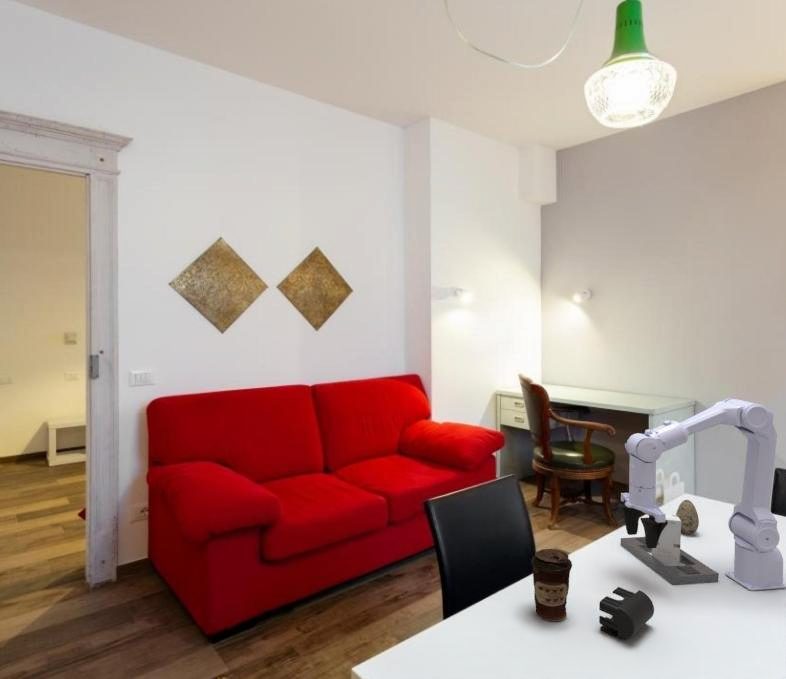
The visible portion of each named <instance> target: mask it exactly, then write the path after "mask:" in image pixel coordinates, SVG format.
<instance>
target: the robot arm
mask: <svg viewBox="0 0 786 679" xmlns="http://www.w3.org/2000/svg"><path fill="white" fill-rule="evenodd" d="M773 420H774V413H773V412H772V411H771V410H769V408H767V407H766V406H765V404H764V405H763V404H761V403H756V402H755V403H754V402H752V401H751V402H750V401H746V400H741V399H738V398H736V397H727V398H726V399H723V400H721V401H717V402H715V404H714V405H713V406H711V407H709V408H707V409H705V410H702V411H701V412H698V413H697V414H694V415H692V416H691V417H688V418H687V419H685V420H683V421H681V422H679V421H676V420H668V419H667V420H664V421H663V422H662V424H661V425H659V426H657V427H654V428H651V429H650V428H649V429H645V430H644V433H638V432H637V433H634V434H632V435H630V436H629V438H628V439H627V441H626V443H624V448H625V450H626V452H627V453H628V456H629V464H628V465H629V467H628V468H629V473H628V474H629V475H628V476H629V478H628V479H629V480H628V483H629V484H628V492H621V493H620V501H621V502H622V503H619V504H618V506H617V507H618V508H619V509H618V510H619V511H620V513H621V515H622V517H623V518H622V519H623V521H624V525H625V529H626V533H627V534H628V535H629V536H630V535H631V536H632V535H633V536H634V535H637V534H638V531H639V530H638V529H639V520H640V521H641V524H642V526H643V530H644V537H645V541H646V546H647V548H656V547H657V544H658V541H659V538H660V535H661V533H662V531H663V529H664V528H665V527H666V525H667V524H668V521H667V520H666V514H667V513H665V512H663V511H662V509H661V508H660V507H659V505H657V503H656V499H657V498H656V496H657V495H656V492H657V490H656V487H657V486H656V485H657V484H656V481H657V479H656V478H657V461H658V460H659V459H660V458H661V455H662V454H663V453H665V452H667V451H670V450H672V449H674V448H677V447H679V446H682V445H683V444H686V443H687V442H688V439H689V436H691V435H694V434H697V433H700V432H702V431H705V430H708V429H710V428H713V427H716V426H719V425H727V426H732V427H734V428H736V429H738V431H740V433H742V435H743V436H745V437H746V438H747V444H746V446H747V447H746V456H745V466H744V472H743V473H744V474H743V483H742V493H741V502H739V503H737V504H735V505H734V506H733V509H732V510H733V512H732V513H731V515H730V517H729V518H728V524H727V525H728V526H727V527H728V529H729V531H730V532H731V533H732V534H733V539H734V555H733V556H734V558H733V560H734V561H733V571H726V572H724V575H726V576H727V577H729V578H730V579H732V580H733V581H735V582H736V583H738V584H740V585H741V586H743V587H744V588H745V589H748V590H749V591H759V590H761V591H764V590H774V589H786V585H785V584H784V581H783V580H784V557H783V554H782V552H781V551H780V549H779V548H778V547H777V546H778V545H779V543H780V533H779V531H778V520H777V519H776V517H775V515H774V514H773V513H772V512H771V509H770V504H771V493H772V487H773V485H772V484H773V476H774V468H775V466H774V465H775V458H776V450H777V449H776V447H777V439H778V434H777V431H776V429H775V428H776V427H775V425H774V421H773ZM641 513H643V514H645V515H647V516H648V517H640V516H641Z"/></svg>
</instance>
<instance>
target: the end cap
mask: <svg viewBox="0 0 786 679" xmlns="http://www.w3.org/2000/svg"><path fill="white" fill-rule="evenodd" d="M612 594H614V595H616V596H619V597H621V598H622V599H615V598H612V597H610V596H607V595H606V596H604V597H603V598H602V599H601V600H600V601H599V604H598V605H599V611H601V612H603V613H605V614H606V615H607V614H608V615H610V616H611V617H608V616H605V617H604V616H602V615H599V616H598V623H599V625H600V627H599V631H600V632H602V633H604V634H606V635H608V636H611V637H612V638H614V639H617V640H619V641H624V640H628V639H630V638H632V637H633V636H634V635H635V634H636V633H637V632H638V631H640V629H642V628H643V626H644V625H646V624H647V622H648V621H649V620H650V619H652V618H653V616H654V614H655V607H654V603H653V601H652V599H651V598H650V596H649V595H647V593H646V592H644V591H642V590H637V591H636V592H633V591H630V590H627V589H625V588H622V587H620V586H617V587H616V588H615V589H614V590H613V591H612Z"/></svg>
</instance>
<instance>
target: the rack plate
mask: <svg viewBox="0 0 786 679" xmlns="http://www.w3.org/2000/svg"><path fill="white" fill-rule="evenodd" d="M620 546H621V547H622V548H624V549H625V550H626V551H628V552H629V553H630V554H631V555H633V556H634V557H635V558H636V559H637V560H639V561H640V562H642V563H644V564H645V566H647V567H648V568H649V569H651V570H652V571H654V572H655V574H657V575H658V576H661V577H662V578H663V579H664V580H665V581H666V582H668V583H669V584H670V585H672V586H678V585H679V586H680V585H695V584H705V583H708V584H709V583H719V577H720V576H719V574H720V573H718V572H717V571H716V570H713V568H711V567H709V566H708V565H706V564H705V563H703V562H702V561H700V560H699V559H697V558H696V557H693V556H692V555H691V554H689V553H687V552H686V551H684V550H683V549H681V548H680V563H682V564H683V565H682V564H681V565H680V566H667V565H664V564H663V563H661V562H660V561H659V560H657V559H656V558H655V557H653V556H652V554H650V553H652V548H647V546H646V541H645V536H636V537H620Z"/></svg>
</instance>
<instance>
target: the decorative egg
mask: <svg viewBox="0 0 786 679" xmlns="http://www.w3.org/2000/svg"><path fill="white" fill-rule="evenodd" d="M675 515H676V516H678V517H679V519H680V520H681V533H683V534H686V535H691V534H695V533H696V531H698V529H699V526H700V520H699V515H698V512H697V509H696V506H695V505H694V504H693V502H692V501H691V500H689V499H684V500H682V502H681V503H680V504H679V505H678V508H677V510H676V514H675Z"/></svg>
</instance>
